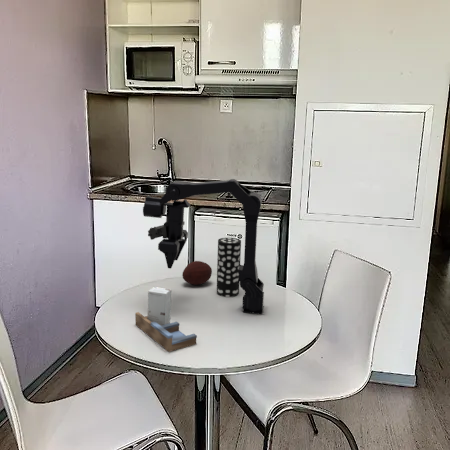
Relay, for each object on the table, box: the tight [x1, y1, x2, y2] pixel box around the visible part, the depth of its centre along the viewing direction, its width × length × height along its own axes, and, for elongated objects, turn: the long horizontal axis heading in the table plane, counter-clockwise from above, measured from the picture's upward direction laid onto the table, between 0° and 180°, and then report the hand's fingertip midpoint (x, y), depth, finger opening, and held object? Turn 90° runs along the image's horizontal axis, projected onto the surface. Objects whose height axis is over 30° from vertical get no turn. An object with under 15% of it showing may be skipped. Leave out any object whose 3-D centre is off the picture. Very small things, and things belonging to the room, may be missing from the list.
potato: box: [181, 260, 213, 286], centre depth 188 cm, size 9×12×9 cm
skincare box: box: [147, 286, 172, 326], centre depth 150 cm, size 6×4×12 cm
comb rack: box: [135, 311, 198, 353], centre depth 146 cm, size 21×9×5 cm, turn 36°
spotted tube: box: [216, 237, 242, 298], centre depth 179 cm, size 8×8×20 cm
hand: (172, 264), depth 166 cm, fingers open, 9 cm apart
